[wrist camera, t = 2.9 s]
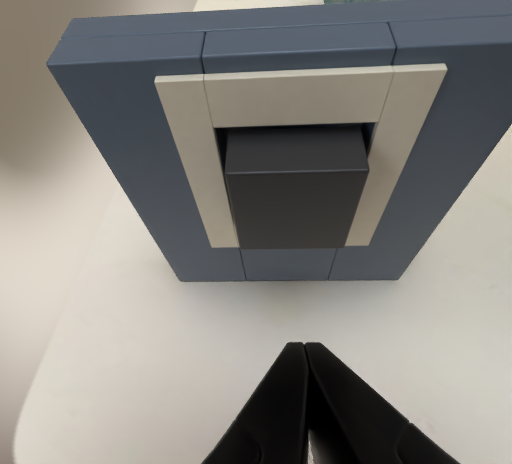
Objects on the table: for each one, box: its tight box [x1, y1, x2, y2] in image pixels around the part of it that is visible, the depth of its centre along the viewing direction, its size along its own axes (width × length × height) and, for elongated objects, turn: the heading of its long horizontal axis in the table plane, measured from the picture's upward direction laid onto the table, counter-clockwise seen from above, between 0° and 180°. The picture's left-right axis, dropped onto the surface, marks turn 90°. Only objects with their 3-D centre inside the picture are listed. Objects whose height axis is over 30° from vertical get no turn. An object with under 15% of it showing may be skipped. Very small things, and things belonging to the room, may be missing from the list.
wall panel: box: [47, 0, 512, 281], centre depth 16 cm, size 3×14×15 cm, turn 89°
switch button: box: [225, 126, 370, 250], centre depth 13 cm, size 2×4×5 cm, turn 89°
